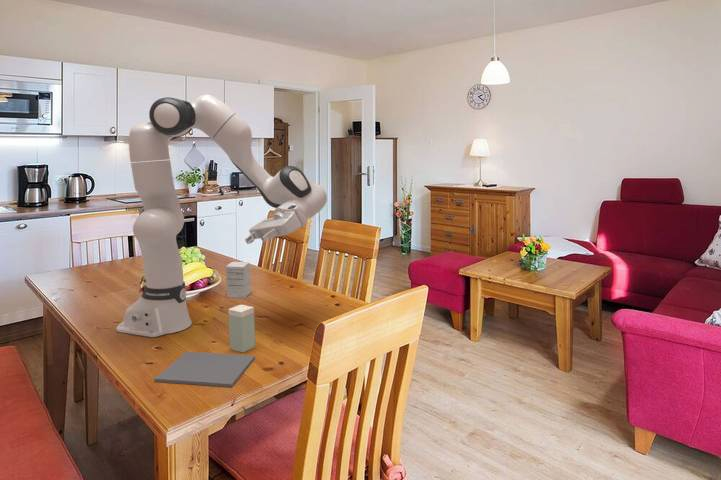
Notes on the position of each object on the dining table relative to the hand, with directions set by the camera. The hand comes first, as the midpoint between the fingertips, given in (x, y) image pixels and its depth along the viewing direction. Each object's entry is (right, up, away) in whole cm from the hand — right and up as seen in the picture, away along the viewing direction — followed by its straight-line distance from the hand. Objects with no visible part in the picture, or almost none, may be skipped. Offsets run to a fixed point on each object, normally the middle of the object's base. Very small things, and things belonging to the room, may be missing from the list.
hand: (254, 240), depth 140 cm
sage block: (-3, -31, -3) cm, 31 cm away
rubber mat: (-9, -34, -17) cm, 38 cm away
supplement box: (-16, -22, +46) cm, 53 cm away
